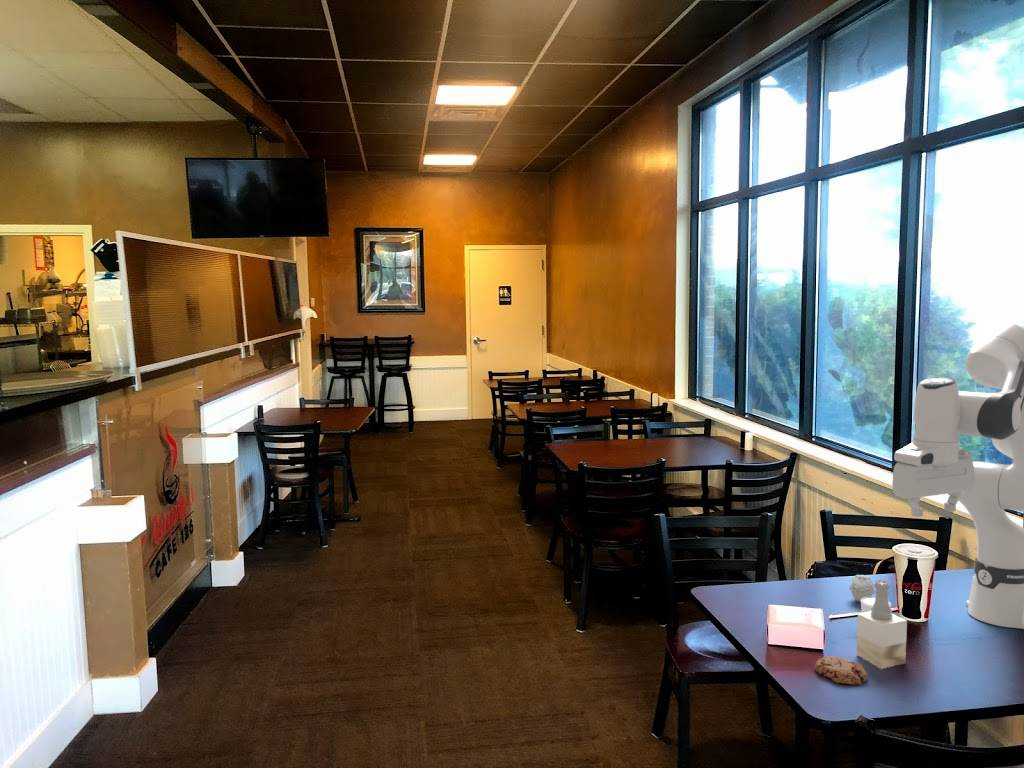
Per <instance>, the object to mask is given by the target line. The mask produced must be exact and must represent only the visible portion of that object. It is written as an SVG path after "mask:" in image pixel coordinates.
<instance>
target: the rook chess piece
mask: <svg viewBox="0 0 1024 768" xmlns="http://www.w3.org/2000/svg"><path fill="white" fill-rule="evenodd" d="M873 587H874V589H875V591H874V594H875V597H876V598H875V603H874V604H873V607H872V608H871V611H872V612H871V615H872V616H873V617H874V618H876V619H879V620H889V619H891V618H892V614H893V610H892V608H891V609H890V606H889V604H888V601H889V598H888V597H889V594H890V593H889V592H888V591H889V590H890V588H891V586H890V585H889V583H888V581H886V580H882V581H881V579H878V580H875V583H873ZM891 613H892V614H891Z"/></svg>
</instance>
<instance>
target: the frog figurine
mask: <svg viewBox="0 0 1024 768" xmlns="http://www.w3.org/2000/svg"><path fill="white" fill-rule="evenodd" d="M849 590H850V592H851V595H852V597H853V599H854V600H855V601H857V602H859V603H861V599H862V598H865V597H873V595H874V594H875V591H876V588H875V587H874V582H872V581H871V576H868V575H867V576H866V575H864V574H855V576H854V578H853V580H852V581H851V584H850V585H849Z"/></svg>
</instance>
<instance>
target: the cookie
mask: <svg viewBox="0 0 1024 768" xmlns="http://www.w3.org/2000/svg"><path fill="white" fill-rule="evenodd" d="M814 671H815V672H817V673H818V674H819V675H821V676H823V677H826V678H828V679H829V678H830V679H831V681H833V682H835V683H837V684H847V685H860V686H861V684H862V683H865V682H866V681H867V679H868V673H867V671H866V670H865V669H864V667H863V665H862V664H860V663H857V662H855V661H850V660H849V659H847V658H844V657H839V656H823V657H821V658H819V659H817V661H816V662H815V665H814ZM861 682H862V683H861Z"/></svg>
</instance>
